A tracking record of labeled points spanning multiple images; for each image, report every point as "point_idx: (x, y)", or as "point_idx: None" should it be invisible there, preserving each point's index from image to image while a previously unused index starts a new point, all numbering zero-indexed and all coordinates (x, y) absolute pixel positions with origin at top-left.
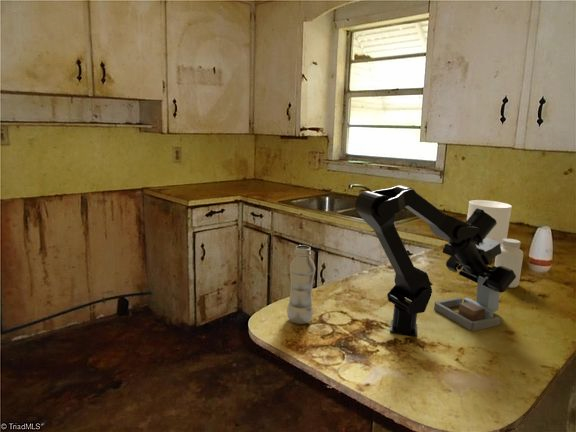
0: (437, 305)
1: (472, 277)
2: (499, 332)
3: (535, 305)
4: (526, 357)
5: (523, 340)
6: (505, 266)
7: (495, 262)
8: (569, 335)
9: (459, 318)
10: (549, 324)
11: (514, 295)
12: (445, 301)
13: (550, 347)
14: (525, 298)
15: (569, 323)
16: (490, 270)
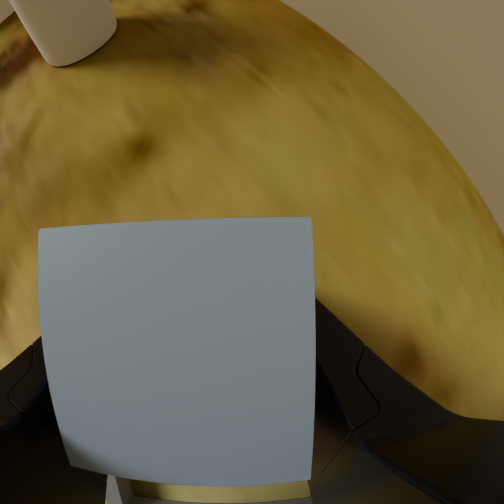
0: None
1: (93, 480)
2: None
3: (242, 56)
4: (500, 415)
5: (458, 354)
6: (60, 3)
7: (23, 19)
8: (452, 160)
9: None
10: (387, 141)
11: (147, 60)
12: (113, 477)
13: (497, 296)
14: (184, 47)
15: (384, 83)
16: (80, 240)
